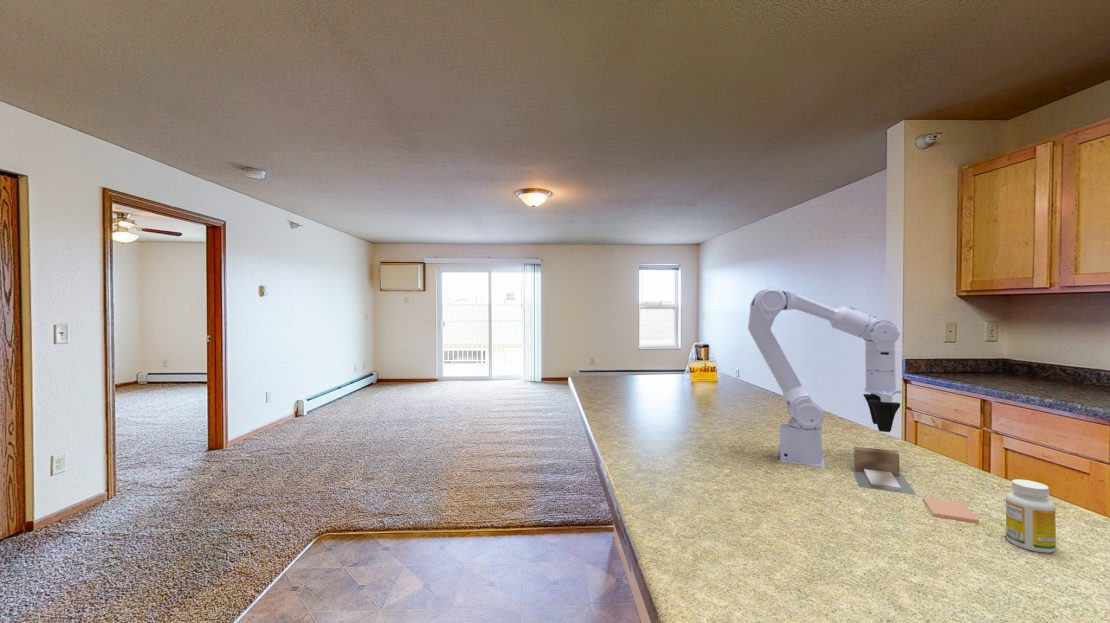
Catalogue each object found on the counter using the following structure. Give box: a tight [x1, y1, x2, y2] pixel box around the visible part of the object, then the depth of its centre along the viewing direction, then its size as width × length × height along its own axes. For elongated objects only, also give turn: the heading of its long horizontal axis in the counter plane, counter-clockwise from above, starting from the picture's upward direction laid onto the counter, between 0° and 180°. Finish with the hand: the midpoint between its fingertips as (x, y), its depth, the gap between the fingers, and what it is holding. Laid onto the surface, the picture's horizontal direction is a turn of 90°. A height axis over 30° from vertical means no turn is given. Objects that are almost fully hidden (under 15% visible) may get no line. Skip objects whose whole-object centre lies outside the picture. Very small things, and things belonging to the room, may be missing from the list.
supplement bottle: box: [1005, 478, 1057, 554], centre depth 70 cm, size 5×5×10 cm
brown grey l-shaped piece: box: [853, 446, 901, 491], centre depth 97 cm, size 8×12×5 cm, turn 153°
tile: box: [922, 496, 980, 525], centre depth 81 cm, size 6×2×8 cm
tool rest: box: [850, 466, 917, 496], centre depth 97 cm, size 10×14×1 cm
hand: (881, 427), depth 106 cm, fingers open, 7 cm apart
